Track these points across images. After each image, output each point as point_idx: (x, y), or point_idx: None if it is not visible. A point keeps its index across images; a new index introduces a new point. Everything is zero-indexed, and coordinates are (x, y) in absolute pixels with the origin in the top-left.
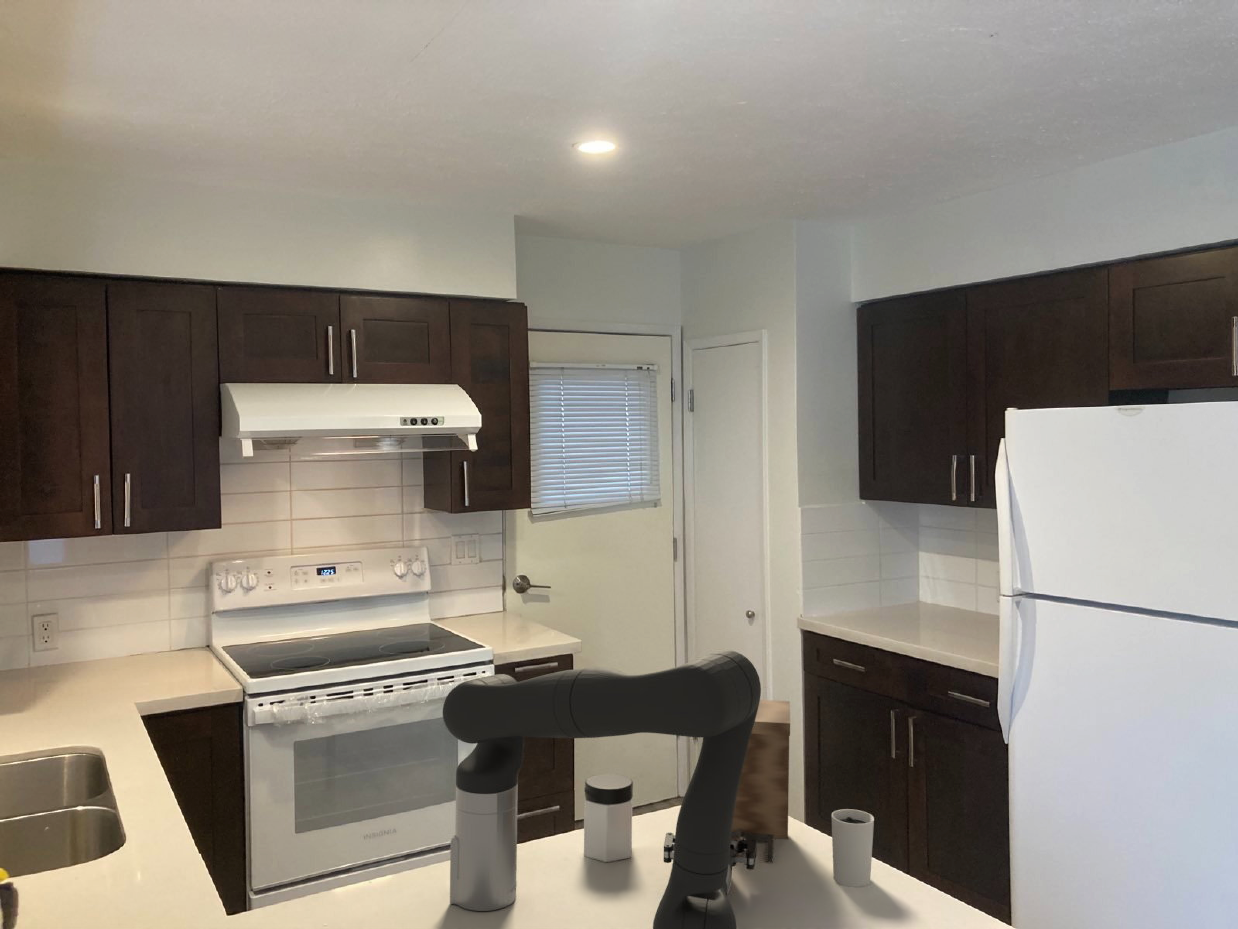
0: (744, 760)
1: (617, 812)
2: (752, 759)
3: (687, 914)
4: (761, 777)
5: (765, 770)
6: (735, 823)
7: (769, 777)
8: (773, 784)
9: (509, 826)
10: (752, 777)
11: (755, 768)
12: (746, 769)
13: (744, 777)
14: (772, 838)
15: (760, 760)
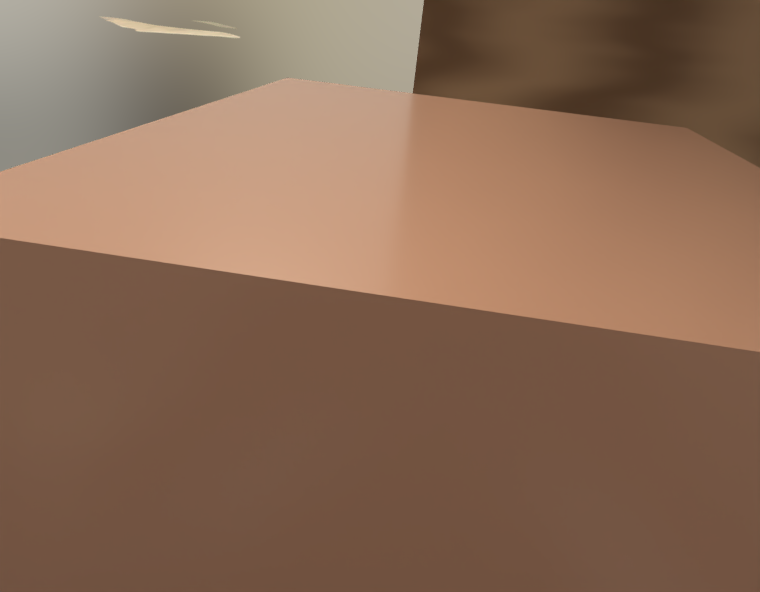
0: (624, 14)
1: None
2: (672, 11)
3: None
4: (698, 119)
5: (731, 80)
6: None
7: (743, 121)
8: (754, 161)
9: None
10: (647, 116)
11: (676, 65)
12: (623, 69)
13: (603, 113)
14: None
15: (717, 19)
